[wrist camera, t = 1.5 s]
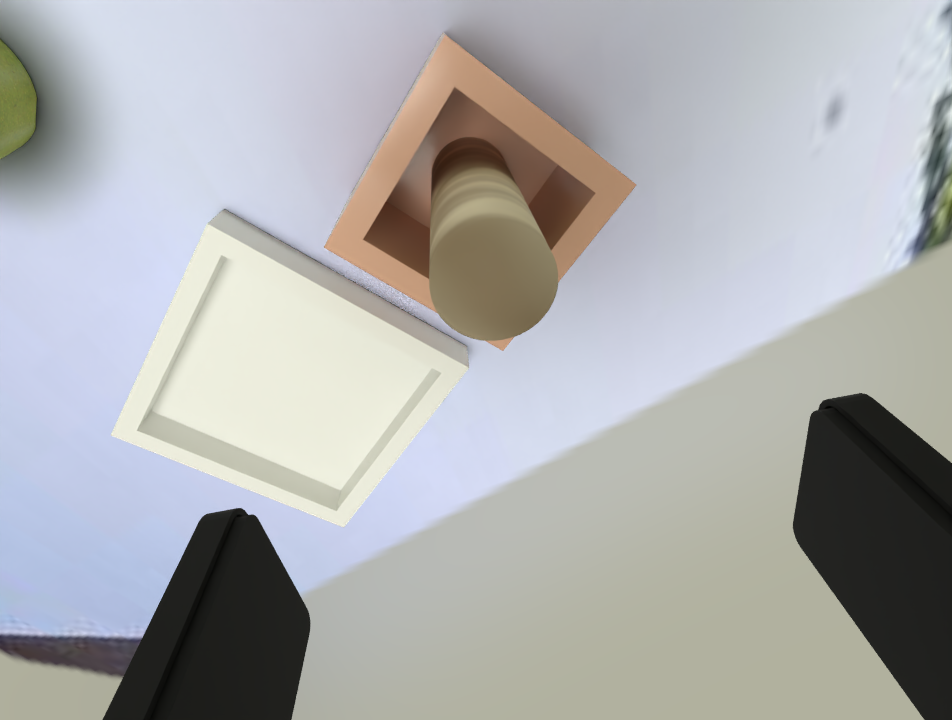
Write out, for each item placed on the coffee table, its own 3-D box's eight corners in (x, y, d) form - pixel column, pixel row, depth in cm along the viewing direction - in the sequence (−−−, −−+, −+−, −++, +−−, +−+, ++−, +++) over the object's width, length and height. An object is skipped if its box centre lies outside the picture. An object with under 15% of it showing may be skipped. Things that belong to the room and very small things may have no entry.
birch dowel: (458, 120, 27) (477, 193, 16) (522, 166, 29) (584, 266, 17) (417, 187, 29) (404, 301, 17) (479, 228, 30) (507, 360, 18)
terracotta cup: (442, 32, 26) (445, 34, 20) (590, 148, 30) (636, 184, 23) (349, 197, 30) (323, 247, 23) (489, 284, 33) (502, 350, 26)
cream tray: (224, 209, 30) (207, 223, 28) (466, 346, 35) (469, 367, 33) (130, 410, 36) (110, 435, 34) (348, 500, 42) (343, 527, 40)
